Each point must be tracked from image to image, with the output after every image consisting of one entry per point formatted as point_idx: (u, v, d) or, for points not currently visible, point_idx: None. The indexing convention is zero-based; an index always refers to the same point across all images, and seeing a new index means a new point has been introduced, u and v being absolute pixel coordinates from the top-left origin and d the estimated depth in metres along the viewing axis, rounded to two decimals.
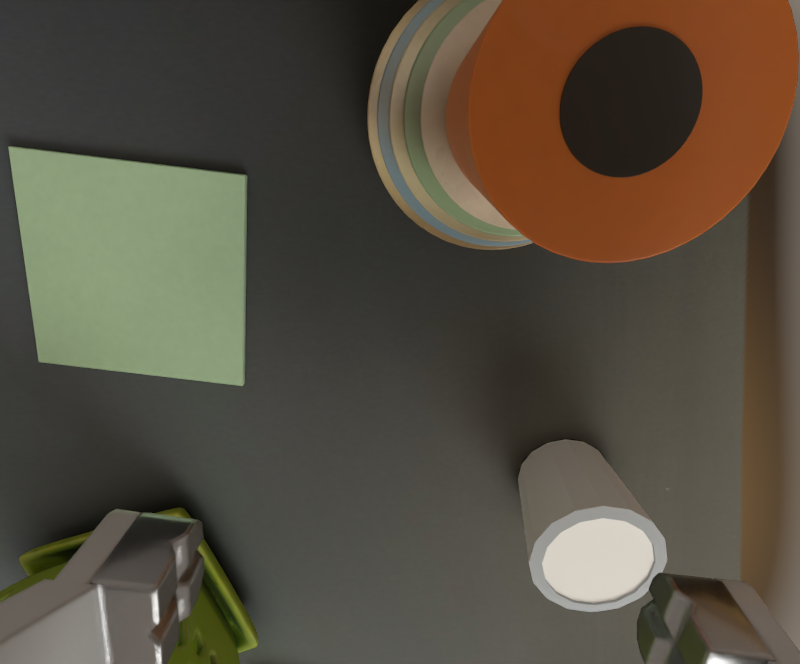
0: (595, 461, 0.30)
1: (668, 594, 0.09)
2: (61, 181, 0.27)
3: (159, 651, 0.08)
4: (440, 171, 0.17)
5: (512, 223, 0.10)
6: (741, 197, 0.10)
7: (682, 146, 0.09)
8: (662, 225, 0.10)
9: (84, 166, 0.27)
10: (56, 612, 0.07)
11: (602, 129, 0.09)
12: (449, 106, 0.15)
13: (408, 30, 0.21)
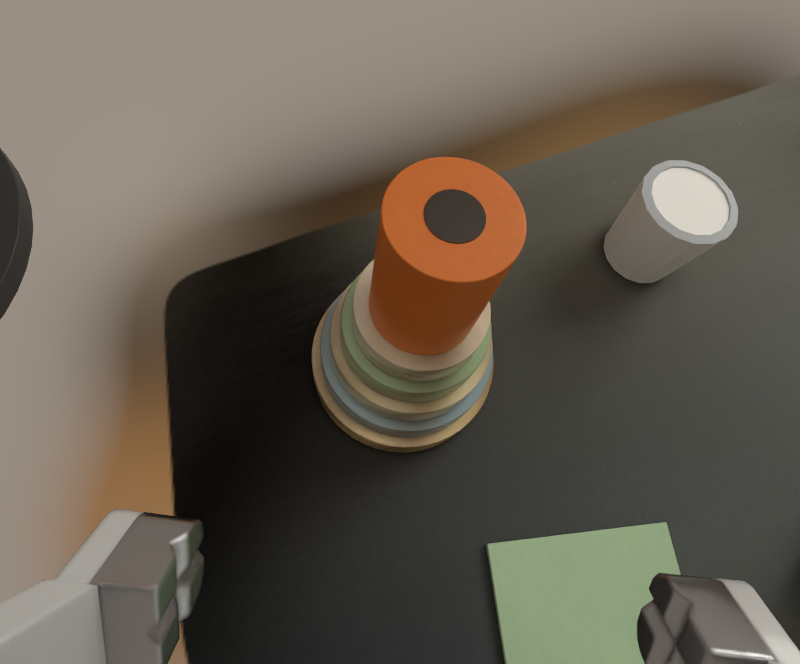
0: (615, 230, 0.40)
1: (669, 594, 0.09)
2: None
3: (159, 651, 0.08)
4: (468, 351, 0.27)
5: (519, 251, 0.20)
6: (477, 163, 0.21)
7: (464, 191, 0.21)
8: (499, 189, 0.21)
9: None
10: (56, 612, 0.07)
11: (468, 223, 0.20)
12: (439, 341, 0.25)
13: (369, 418, 0.31)
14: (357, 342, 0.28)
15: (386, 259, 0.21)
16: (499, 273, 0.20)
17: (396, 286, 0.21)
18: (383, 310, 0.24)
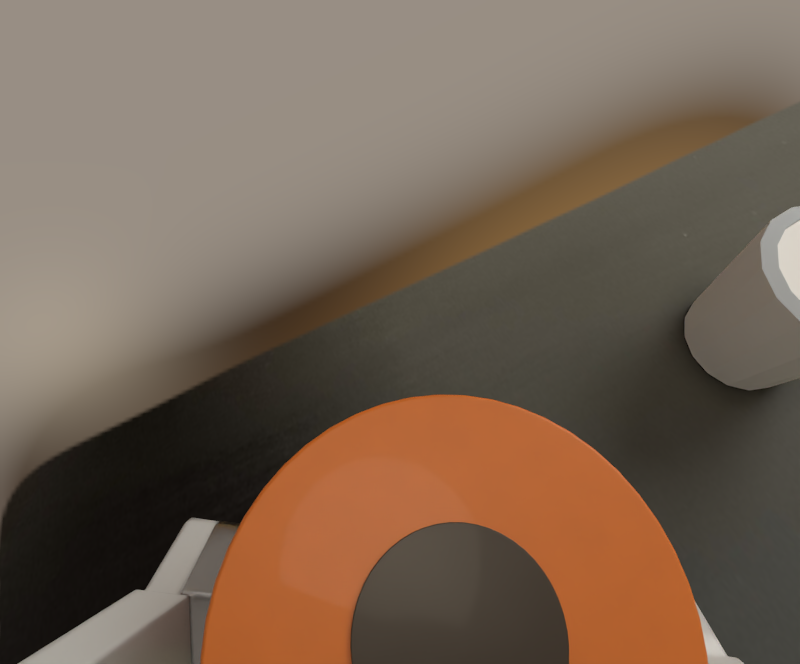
0: (707, 318, 0.26)
1: None
2: None
3: None
4: None
5: None
6: (511, 408, 0.07)
7: (482, 523, 0.06)
8: (590, 496, 0.07)
9: None
10: (153, 623, 0.07)
11: None
12: None
13: None
14: None
15: None
16: None
17: None
18: None
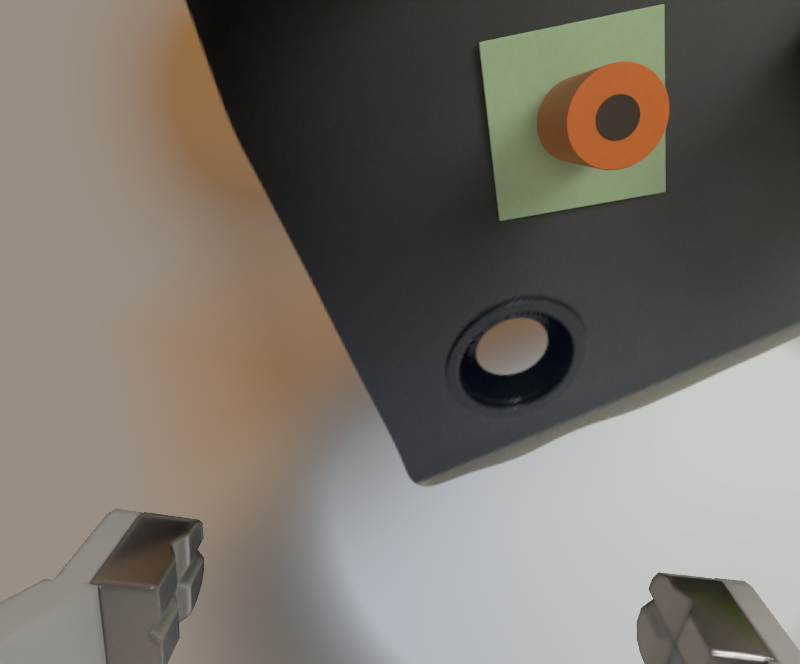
0: None
1: (668, 594, 0.09)
2: (515, 182, 0.39)
3: (159, 651, 0.08)
4: None
5: (659, 140, 0.30)
6: (640, 65, 0.28)
7: (627, 94, 0.29)
8: (653, 88, 0.29)
9: (501, 167, 0.38)
10: (56, 612, 0.07)
11: (626, 123, 0.29)
12: None
13: None
14: None
15: (565, 145, 0.31)
16: (642, 158, 0.30)
17: (569, 156, 0.32)
18: (553, 148, 0.35)
